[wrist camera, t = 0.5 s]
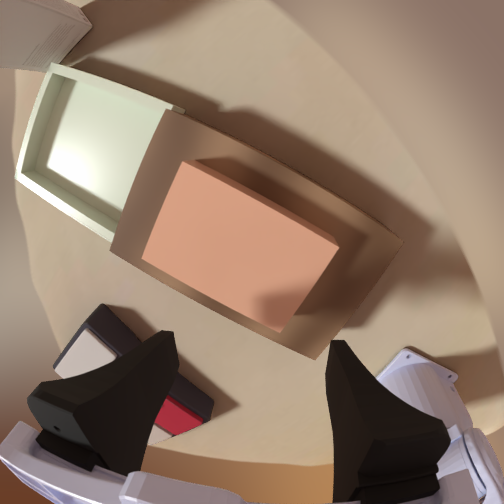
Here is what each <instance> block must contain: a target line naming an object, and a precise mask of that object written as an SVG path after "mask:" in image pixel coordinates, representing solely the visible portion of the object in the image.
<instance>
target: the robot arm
mask: <svg viewBox="0 0 504 504" xmlns="http://www.w3.org/2000/svg"><path fill="white" fill-rule="evenodd" d="M409 354H410V355H409ZM407 355H409V356H407ZM178 368H179V360H178V354H177V349H176V344H175V338H174V333H173V332H172V331H163V330H161V331H160V332H158V333H156V334H155V335H153V336H152V337H150V338H149V339H147V340H146V341H144V342H143V343H141V344H140V345H138V346H137V347H135V348H134V349H132V350H131V351H129V352H127V353H126V354H124V355H122V356H121V357H119V358H117V359H116V360H114V361H112V362H110V363H108V364H106V365H104V366H101V367H99V368H97V369H94V370H91V371H89V372H86V373H83V374H80V375H77V376H73V377H69V378H65V379H60V380H53V381H46V382H41V383H40V384H39V385H38V386H37V387H36V389H35V390H34V391H33V392H32V393H31V394H30V395H29V397H28V398H27V403H28V406H29V408H30V410H31V412H32V413H33V415H34V417H35V418H36V420H37V421H38V423H39V424H40V426H41V427H42V428H43V430H42V431H41V433H39V432H38V431H37V430H36V429H34V428H32V427H31V426H29V425H27V424H25V423H24V422H22V421H19V422H18V423H17V425H16V426H15V427H14V428H13V430H12V431H11V432H10V433H9V435H8V436H7V437H6V438H5V440H4V441H3V442H2V444H1V445H0V459H1V460H2V462H3V463H4V464H5V465H6V466H7V467H8V468H9V469H10V470H11V471H12V472H13V473H14V474H15V475H16V476H17V477H18V478H19V479H20V480H21V481H22V482H23V483H25V484H26V485H28V486H29V487H30V488H32V489H33V490H35V491H36V492H38V493H39V494H41V495H43V496H44V497H46V498H47V499H49V500H50V501H52V502H53V503H55V504H267V503H252V502H245V501H244V500H243V499H242V498H241V497H240V496H239V495H238V494H235V493H233V492H231V491H229V490H224V489H221V488H216V487H212V486H206V485H200V484H194V483H189V482H184V481H180V480H175V479H171V478H166V477H163V476H158V475H155V474H151V473H147V472H141V471H140V470H141V465H142V461H143V457H144V454H145V450H146V447H147V443H148V440H149V437H150V434H151V431H152V428H153V425H154V422H155V420H156V418H157V415H158V413H159V411H160V409H161V407H162V405H163V403H164V401H165V399H166V397H167V395H168V393H169V391H170V389H171V387H172V385H173V383H174V380H175V378H176V375H177V371H178ZM325 379H326V395H327V401H328V407H329V413H330V419H331V425H332V431H333V444H334V484H333V503H328V504H504V477H503V474H502V470H501V467H500V464H499V461H498V459H497V457H496V455H495V452H494V450H493V448H492V447H491V445H490V443H489V442H488V440H487V438H486V436H485V435H484V433H483V432H482V431H481V430H480V429H479V428H473V423H472V419H471V417H470V415H469V413H468V411H467V409H466V407H465V405H464V403H463V401H462V399H461V397H460V396H459V394H458V392H457V390H456V388H455V386H454V384H453V383H454V382H455V381H456V380H457V379H458V375H457V373H455V372H453V371H451V370H449V369H447V368H445V367H443V366H441V365H439V364H437V363H435V362H433V361H431V360H429V359H427V358H425V357H423V356H421V355H419V354H417V353H415V352H413V351H412V350H410V349H407V348H405V349H402V350H401V351H400V352H399V353H398V355H397V356H396V357H395V358H394V359H393V360H392V361H391V362H390V363H389V364H388V365H387V367H386V368H385V369H384V370H383V371H382V372H381V373H380V374H379V375H378V376H377V377H376V378H375V377H374V376H373V375H372V374H371V373H370V372H369V371H368V370H367V368H366V367H365V366H364V365H363V364H362V363H361V361H360V360H359V359H358V358H357V356H356V355H355V354H354V352H353V351H352V350H351V348H350V347H349V346H348V344H347V343H346V342H345V340H331V342H330V348H329V355H328V361H327V367H326V373H325ZM483 496H484V497H483ZM481 497H483V498H482V499H480V498H481ZM479 499H480V500H479Z"/></svg>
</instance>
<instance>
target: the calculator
mask: <svg viewBox="0 0 504 504" xmlns="http://www.w3.org/2000/svg"><path fill="white" fill-rule="evenodd" d="M141 343H142V342H140V341H139V340H138V339H137V338H136V336H135V334H134V333H133V332H132V331H131V330H130V329H129V328H128V327H127V326H126V325H125V324H124V323H123V322H122V321H121V320H120V319H119V318H118V317H117V316H116V315H115V314H114V313H113V312H112V311H111V310H110V309H109V308H108V307H107V306H106V305H104V304H100V305H99V306H98V307H97V308H96V309H95V311H94V312H93V313H92V314H91V315H90V316H89V317H88V318H87V319H86V320H85V322H84V323H83V324H82V325H81V327H80V328H79V329H78V331H77V332H76V333H75V335H74V336H73V338H72V339H71V340H70V342H69V343H68V344H67V346H66V347H65V349H64V350H63V351H62V353H61V354H60V356H59V357H58V359H57V360H56V362H55V363H54V365H53V368H54V369H55V371H56V372H57V373H58V374H59V375H60V376H61V377H62V378H63V379H65V378H69V377H73V376H77V375H80V374H83V373H86V372H89V371H91V370H94V369H97V368H99V367H101V366H104V365H106V364H108V363H110V362H112V361H114V360H116V359H117V358H119V357H121V356H122V355H124V354H126V353H127V352H129V351H131V350H132V349H134V348H135V347H137V346H138V345H140V344H141ZM213 404H214V401H213V399H211V398H210V397H209V396H207V395H206V394H205V393H203V392H202V391H201V390H199V389H198V388H197V387H196V386H194V385H193V384H192V383H191V382H189V381H188V380H187V379H186V378H184V377H183V376H182V375H181V374H179V373H178V372H177V375H176V378H175V380H174V383H173V385H172V387H171V389H170V391H169V393H168V395H167V397H166V399H165V401H164V403H163V405H162V407H161V409H160V411H159V413H158V415H157V418H156V420H155V422H154V425H153V428H152V431H151V434H150V437H149V440H148V444H150V445H153V444H156V443H159V442H161V441H164V440H166V439H169V438H171V437H174V436H176V435H179V434H181V433H183V432H186V431H188V430H190V429H193V428H195V427H197V426H199V425H202V424H204V423H206V422H208V421H209V420H210V417H211V413H212V409H213Z"/></svg>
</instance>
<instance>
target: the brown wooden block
mask: <svg viewBox="0 0 504 504" xmlns="http://www.w3.org/2000/svg"><path fill="white" fill-rule="evenodd" d="M188 160H196V161H198V162H200V163H201V164H203V165H205V166H207V167H209V168H211V169H213V170H215V171H217V172H219V173H221V174H223V175H225V176H227V177H229V178H230V179H232V180H234V181H236V182H238V183H240V184H242V185H244V186H245V187H247V188H249V189H251V190H253V191H255V192H257V193H258V194H260V195H262V196H264V197H266V198H267V199H269V200H271V201H273V202H275V203H276V204H278V205H280V206H282V207H284V208H285V209H287V210H289V211H291V212H292V213H294V214H296V215H298V216H299V217H301V218H303V219H305V220H306V221H308V222H310V223H312V224H313V225H315V226H317V227H318V228H320V229H322V230H323V231H325V232H327V233H329V234H330V235H332V236H334V238H335V240H336V242H337V244H338V246H339V249H338V250H337V252H336V253H335V255H334V256H333V258H332V259H331V261H330V262H329V264H328V265H327V267H326V268H325V270H324V271H323V273H322V274H321V276H320V277H319V279H318V280H317V282H316V283H315V285H314V286H313V288H312V289H311V290H310V292H309V293H308V295H307V296H306V298H305V299H304V301H303V302H302V303H301V305H300V306H299V308H298V309H297V310H296V312H295V313H294V315H293V316H292V317H291V319H290V320H289V321H288V323H287V324H286V326H285V327H284V328H283V330H282V331H281V332H280V333H279V332H277V331H275V330H273V329H270V328H268V327H266V326H264V325H262V324H260V323H258V322H256V321H255V320H253V319H251V318H249V317H247V316H245V315H243V314H241V313H239V312H237V311H235V310H233V309H231V308H229V307H227V306H225V305H224V304H222V303H220V302H218V301H216V300H214V299H212V298H210V297H209V296H207V295H205V294H203V293H201V292H199V291H198V290H196V289H194V288H192V287H190V286H188V285H187V284H185V283H183V282H181V281H180V280H178V279H176V278H174V277H172V276H171V275H169V274H167V273H165V272H164V271H162V270H160V269H158V268H157V267H155V266H153V265H152V264H150V263H148V262H146V261H145V260H143V259H141V258H142V256H143V253H144V250H145V248H146V245H147V242H148V240H149V237H150V235H151V232H152V230H153V227H154V225H155V222H156V220H157V217H158V215H159V213H160V210H161V208H162V205H163V203H164V201H165V199H166V196H167V194H168V192H169V189H170V187H171V185H172V183H173V180H174V178H175V176H176V174H177V172H178V170H179V167H180V165H181V163H182V161H188ZM403 243H404V242H403V241H402V240H401V239H400V238H399V237H398V236H396V235H395V234H394V233H393V232H392V231H390V230H389V229H388V228H387V227H386V226H384V225H383V224H381V223H380V222H378V221H377V220H375V219H374V218H372V217H371V216H369V215H368V214H366V213H365V212H363V211H362V210H360V209H359V208H357V207H356V206H354V205H352V204H351V203H349V202H348V201H346V200H345V199H343V198H341V197H340V196H338V195H337V194H335V193H333V192H332V191H330V190H328V189H327V188H325V187H323V186H322V185H320V184H318V183H317V182H315V181H313V180H312V179H310V178H308V177H307V176H305V175H303V174H301V173H300V172H298V171H296V170H294V169H293V168H291V167H289V166H287V165H285V164H284V163H282V162H280V161H278V160H276V159H275V158H273V157H271V156H269V155H267V154H265V153H263V152H262V151H260V150H258V149H256V148H254V147H252V146H250V145H248V144H246V143H244V142H242V141H240V140H238V139H236V138H234V137H232V136H230V135H228V134H226V133H224V132H222V131H220V130H218V129H216V128H214V127H212V126H210V125H208V124H205V123H203V122H201V121H199V120H197V119H195V118H192V117H190V116H188V115H185V114H182V113H179V112H176V111H173V110H170V109H165V111H164V113H163V115H162V117H161V119H160V122H159V124H158V126H157V128H156V130H155V132H154V134H153V137H152V139H151V141H150V143H149V145H148V148H147V150H146V152H145V155H144V157H143V159H142V162H141V164H140V167H139V169H138V171H137V174H136V176H135V179H134V181H133V184H132V187H131V189H130V192H129V195H128V197H127V200H126V203H125V205H124V208H123V211H122V214H121V217H120V220H119V223H118V226H117V229H116V232H115V235H114V238H113V241H112V244H111V248H110V251H111V252H112V253H114V254H115V255H117V256H119V257H120V258H122V259H124V260H125V261H127V262H128V263H130V264H132V265H133V266H135V267H137V268H138V269H140V270H142V271H143V272H145V273H147V274H149V275H150V276H152V277H154V278H155V279H157V280H159V281H161V282H162V283H164V284H166V285H168V286H169V287H171V288H173V289H175V290H176V291H178V292H180V293H182V294H184V295H185V296H187V297H189V298H191V299H193V300H194V301H196V302H198V303H200V304H202V305H204V306H205V307H207V308H209V309H211V310H213V311H215V312H217V313H219V314H221V315H222V316H224V317H226V318H228V319H230V320H232V321H234V322H236V323H238V324H240V325H242V326H244V327H246V328H248V329H250V330H252V331H254V332H256V333H258V334H260V335H262V336H264V337H266V338H268V339H270V340H272V341H274V342H276V343H279V344H281V345H283V346H285V347H287V348H289V349H291V350H293V351H296V352H298V353H300V354H302V355H304V356H306V357H309V358H311V359H313V360H316V359H317V357H318V356H319V355H320V354H321V353H322V352H323V350H324V349H325V348H326V347H327V346H328V345H329V343H330V342H331V340H333V338H334V337H335V336H336V335H337V334H338V332H339V331H340V330H341V329H342V327H343V326H344V325H345V324H346V322H347V321H348V320H349V319H350V317H351V316H352V315H353V313H354V312H355V311H356V309H357V308H358V307H359V306H360V304H361V303H362V302H363V300H364V299H365V298H366V296H367V295H368V293H369V292H370V291H371V289H372V288H373V287H374V285H375V284H376V282H377V281H378V280H379V278H380V277H381V275H382V274H383V272H384V271H385V270H386V268H387V267H388V265H389V264H390V262H391V261H392V259H393V258H394V256H395V255H396V253H397V252H398V250H399V249H400V247H401V246H402V244H403Z"/></svg>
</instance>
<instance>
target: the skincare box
mask: <svg viewBox="0 0 504 504" xmlns="http://www.w3.org/2000/svg"><path fill="white" fill-rule="evenodd" d="M92 27H93V26H92V24H91V23H90V21H89V20H88V19H87V17H86V16H85V15H84V13H83V12H82V10H81V9H80V8H79V7H78V6H75V5H73V4H71V3H68V2H66V1H64V0H0V68H10V69H21V70H30V71H38V72H44V73H47V71H48V68H49V66H50V64H51V62H52V63H56V64H59V63H60V62H61V61H62V59H63V58H64V57H65V56H66V55H67V54H68V53H69V51H70V50H71V49H72V48H73V47H74V46H75V45H76V44H77V43H78V42H79V40H80V39H81V38H82V37H83V36H84V35H85V34H86V33H87V32H88V31H89V30H90V29H91V28H92Z"/></svg>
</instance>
